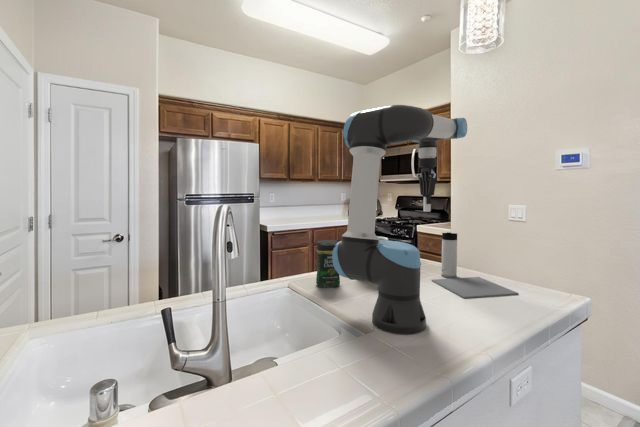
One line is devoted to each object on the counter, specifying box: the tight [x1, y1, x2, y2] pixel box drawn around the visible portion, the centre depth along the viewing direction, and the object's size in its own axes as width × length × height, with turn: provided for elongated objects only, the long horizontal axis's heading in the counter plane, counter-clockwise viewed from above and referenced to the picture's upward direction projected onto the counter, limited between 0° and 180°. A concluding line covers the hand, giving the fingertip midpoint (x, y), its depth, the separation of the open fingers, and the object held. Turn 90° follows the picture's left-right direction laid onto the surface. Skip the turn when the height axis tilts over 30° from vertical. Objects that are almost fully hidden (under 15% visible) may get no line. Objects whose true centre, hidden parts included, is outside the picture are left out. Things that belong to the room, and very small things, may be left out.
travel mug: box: [441, 231, 458, 279], centre depth 139 cm, size 6×7×20 cm
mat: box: [431, 276, 519, 299], centre depth 124 cm, size 22×22×1 cm
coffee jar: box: [315, 239, 341, 288], centre depth 128 cm, size 10×8×19 cm
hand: (427, 211), depth 141 cm, fingers closed
